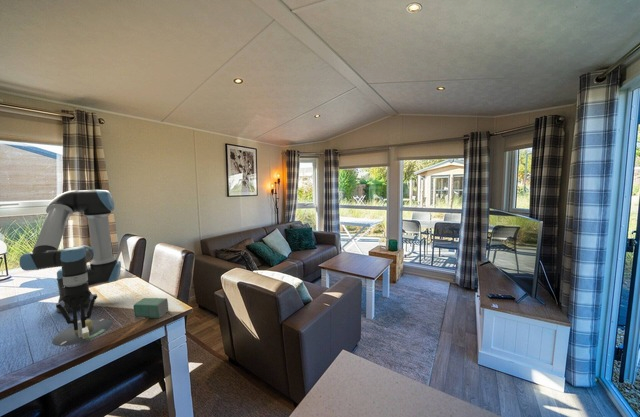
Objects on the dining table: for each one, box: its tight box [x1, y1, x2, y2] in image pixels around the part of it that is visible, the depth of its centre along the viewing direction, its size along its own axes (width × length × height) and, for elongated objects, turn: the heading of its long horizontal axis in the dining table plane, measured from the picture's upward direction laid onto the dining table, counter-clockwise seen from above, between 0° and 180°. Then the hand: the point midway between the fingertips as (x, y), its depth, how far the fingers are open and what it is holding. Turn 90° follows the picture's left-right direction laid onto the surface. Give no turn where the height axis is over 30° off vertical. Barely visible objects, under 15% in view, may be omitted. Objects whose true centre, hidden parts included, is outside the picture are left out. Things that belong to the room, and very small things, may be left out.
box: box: [133, 297, 169, 319], centre depth 129 cm, size 7×14×8 cm, turn 86°
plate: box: [51, 318, 113, 347], centre depth 113 cm, size 20×20×2 cm
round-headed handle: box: [74, 318, 93, 339], centre depth 110 cm, size 13×6×4 cm, turn 48°
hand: (80, 335), depth 107 cm, fingers closed
